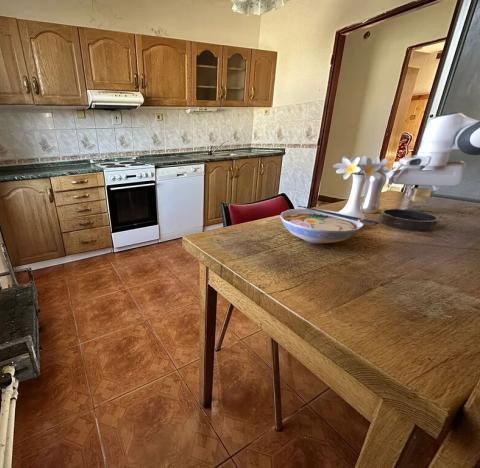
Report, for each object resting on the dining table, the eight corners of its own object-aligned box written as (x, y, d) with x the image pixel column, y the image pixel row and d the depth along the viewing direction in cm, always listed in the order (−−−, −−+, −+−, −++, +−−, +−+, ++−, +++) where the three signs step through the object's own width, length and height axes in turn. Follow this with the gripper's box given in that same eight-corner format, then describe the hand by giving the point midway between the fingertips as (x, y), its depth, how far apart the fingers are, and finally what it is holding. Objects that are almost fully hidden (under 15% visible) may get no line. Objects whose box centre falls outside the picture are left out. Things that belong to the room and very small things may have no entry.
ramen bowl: (260, 234, 89) (262, 211, 86) (303, 223, 99) (307, 202, 96) (331, 263, 68) (337, 234, 65) (377, 245, 78) (385, 220, 75)
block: (422, 199, 103) (426, 188, 102) (427, 201, 100) (431, 190, 98) (408, 198, 105) (411, 187, 103) (413, 201, 101) (417, 189, 100)
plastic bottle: (362, 214, 106) (375, 165, 99) (355, 210, 112) (366, 163, 105) (380, 215, 105) (394, 165, 97) (372, 211, 111) (385, 163, 104)
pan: (422, 220, 97) (425, 210, 96) (445, 234, 84) (450, 223, 83) (372, 217, 103) (375, 207, 102) (387, 229, 90) (390, 219, 88)
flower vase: (380, 239, 82) (404, 158, 73) (316, 227, 94) (330, 156, 85) (384, 228, 91) (406, 155, 82) (325, 218, 103) (339, 153, 94)
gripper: (462, 159, 96) (448, 196, 101) (394, 159, 103) (385, 193, 108) (473, 161, 90) (458, 199, 95) (401, 160, 98) (390, 196, 103)
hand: (419, 196), depth 102 cm, fingers closed on block, 4 cm apart
